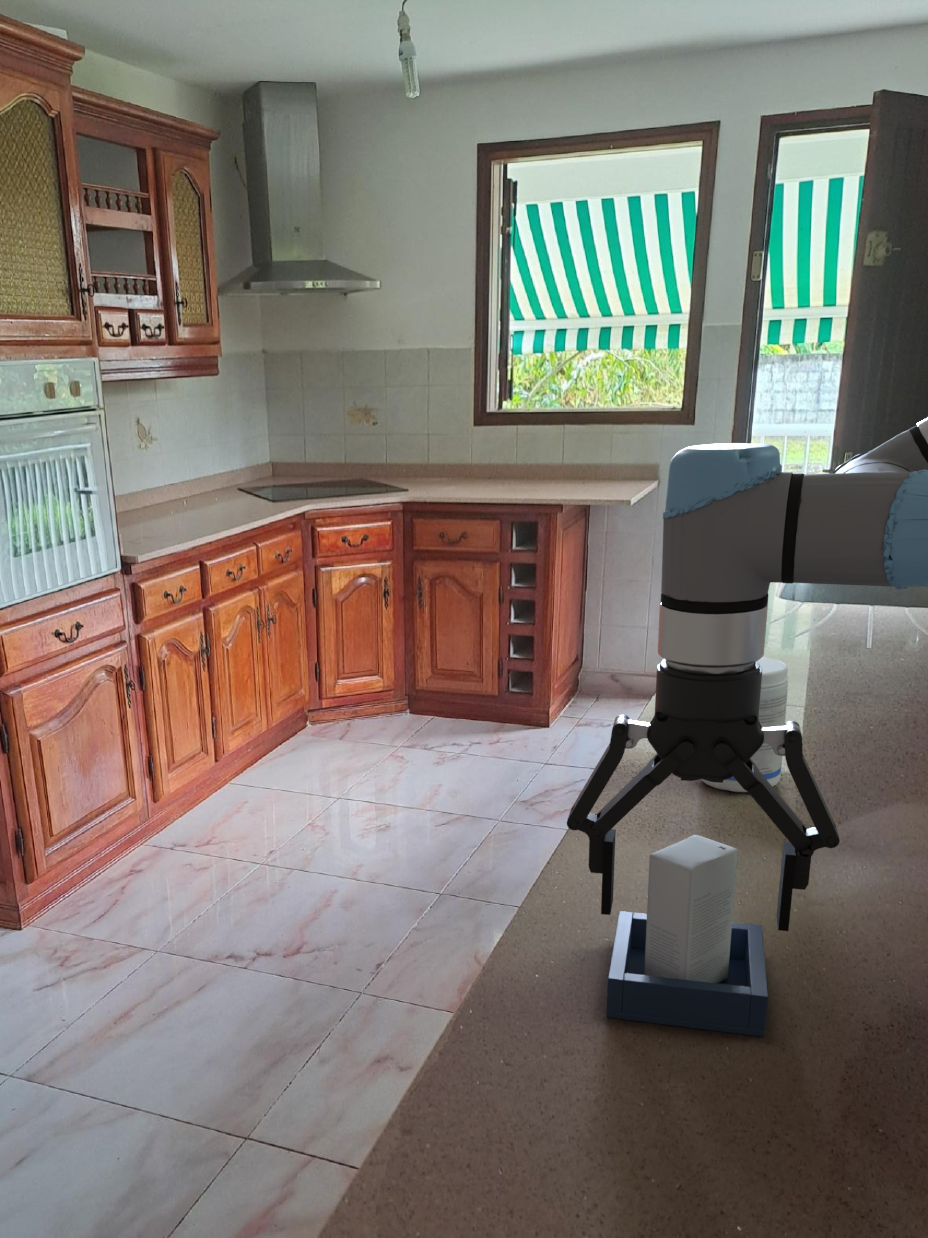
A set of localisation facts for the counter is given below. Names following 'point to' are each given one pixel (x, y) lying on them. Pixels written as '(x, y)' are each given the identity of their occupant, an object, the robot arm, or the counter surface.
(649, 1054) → the counter surface
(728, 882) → the cosmetic box
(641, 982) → the holder
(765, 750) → the supplement tub
